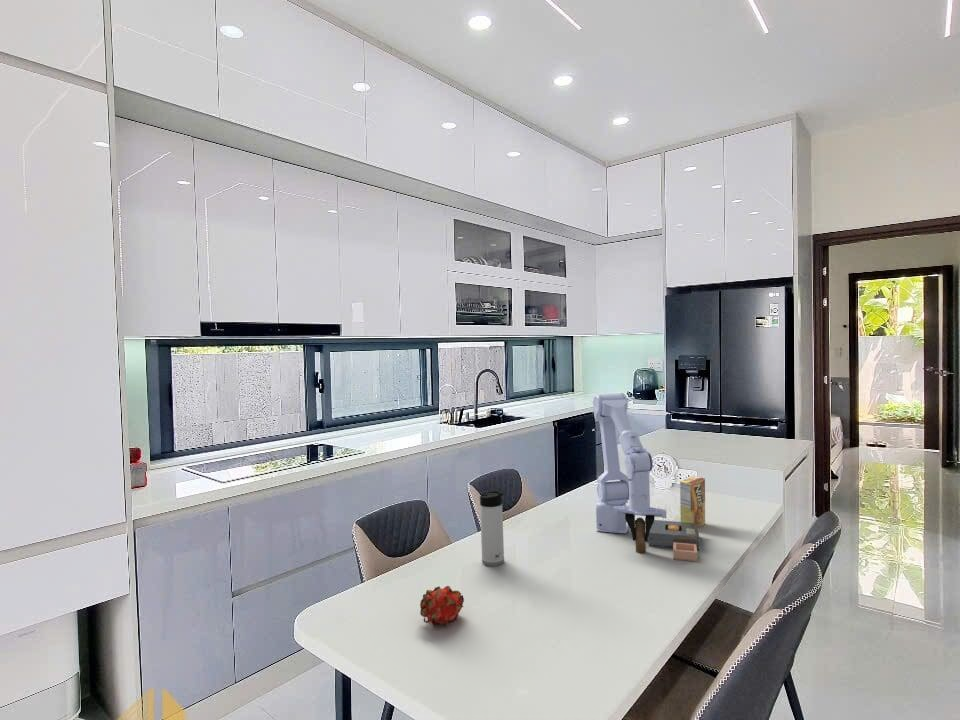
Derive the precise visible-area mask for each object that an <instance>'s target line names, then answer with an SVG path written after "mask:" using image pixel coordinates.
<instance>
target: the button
mask: <svg viewBox="0 0 960 720" xmlns="http://www.w3.org/2000/svg"><path fill="white" fill-rule="evenodd" d="M668 530H674V531H679V527H678V526H676V525H669V526H668Z"/></svg>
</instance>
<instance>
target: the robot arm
mask: <svg viewBox="0 0 960 720" xmlns="http://www.w3.org/2000/svg"><path fill="white" fill-rule="evenodd" d="M628 406H629V402H628V398H627V395H625V393H624V392H621V393H609V394H607V393H605V394H599V393H598V394H595V396H594V397H593V401H592V408H593V416H594V420H596V421H598V422H599V423H598V424H599V429H600V437H601V446H602V455H603V456H602V457H603V465H604V472H603V473H601V474H600V475H599V476H598V478H597V479H596V481H597V482H596V483H597V485H596V486H597V487H596V493H597V498H598V499H599V500H597V502H596V506H595V507H596V508H595V515H596V517H595V518H596V521H595V523H596V529H595V530H596V532H603V533H605V532H606V533H613V534H627V533H628V530H630V533H631V537H632V541H633V542H636V539H635V520H636V516H645V518H644V521H645V542H646V543H649V532H650V529H651V527H652V524H653V522H654V520H655V517H657V518H662V519H667V509H665V508H657V507H651V500H650V499H651V495H650V494H651V493H650V492H651V491H650V488H651V487H650V472H651V471H653V467H654V466H653V465H654V461H653V457H652V455H651V452H649V451H648V450H647V449H646V448H644V447H643V444H642V442H641V440H640V438H639V434H638V433H637V432H636V431H633V430H632V427H631V424H630V420H629V417H628V415H627V412H628ZM616 429H617V431H618V434H620V435H619V437H618V438H617V431H616ZM617 439H618V441H617ZM618 442H619V444H620V447H621V449H622V452H623V454H624V456H625V459H624V466H625V470H626V474H625V473H624V472H622V471H621V466H620V459H619V456H620V455H619V449H618V448H619V447H618ZM627 503H629V505H627Z"/></svg>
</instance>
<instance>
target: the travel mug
mask: <svg viewBox="0 0 960 720" xmlns="http://www.w3.org/2000/svg"><path fill="white" fill-rule="evenodd" d="M503 496H504V492H503V491H500V490H499V491H498V490H494V491H492V490H491V491H487V492H484V493H482V494H481V495H479V511H480V512H479V513H480V514H479V515H480V516H479V517H480V538H481V540H480V541H481V542H480V543H481V545H480V546H481V562H482V564H483V565H484V566H487V567H498V566H501V565H503V564H504V563H505V551H504V550H505V548H504V543H505V542H504V523H503V522H504V521H503V519H504V518H503V517H504V516H503V501H502V500H503V499H502V498H503Z"/></svg>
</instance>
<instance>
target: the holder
mask: <svg viewBox="0 0 960 720" xmlns="http://www.w3.org/2000/svg"><path fill="white" fill-rule="evenodd" d="M672 555H673V557H672V558H673V560H677V561H688V562H697V563H698V551H697V546H696V544H687V543H676V542H673V548H672Z"/></svg>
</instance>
